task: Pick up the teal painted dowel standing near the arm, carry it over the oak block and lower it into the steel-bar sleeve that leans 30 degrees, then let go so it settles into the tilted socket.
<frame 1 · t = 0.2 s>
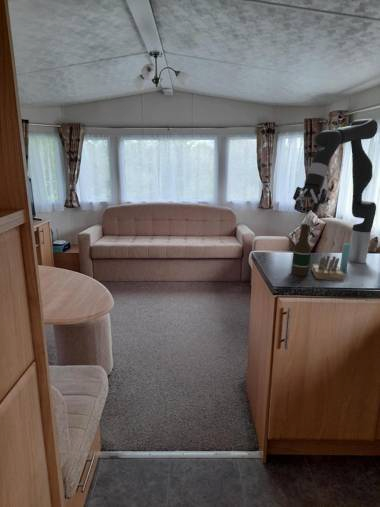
hand: (304, 211, 148), 31 cm above the countertop, tool tilted 20°, fingers open, 8 cm apart
beer bottle: (299, 274, 163), on the countertop
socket: (326, 275, 162), on the countertop
peg: (342, 271, 169), on the countertop
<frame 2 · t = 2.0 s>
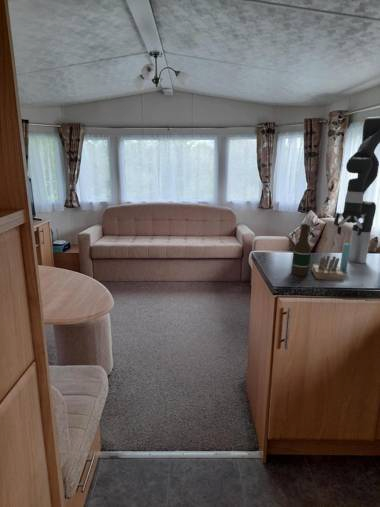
hand: (348, 235, 164), 19 cm above the countertop, tool pointing down, fingers open, 8 cm apart
nothing on the countertop moved.
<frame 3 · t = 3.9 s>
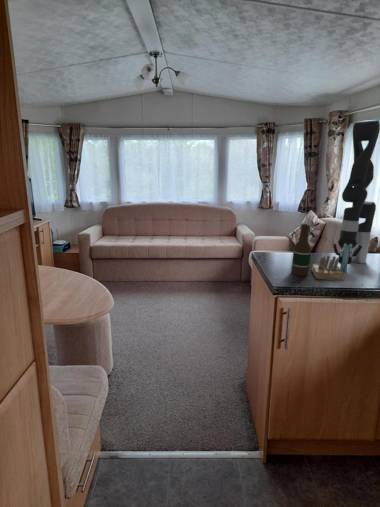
hand: (344, 263, 168), 4 cm above the countertop, tool pointing down, fingers closed on peg, 3 cm apart
peg: (342, 271, 169), on the countertop, touching gripper
everything else where it was.
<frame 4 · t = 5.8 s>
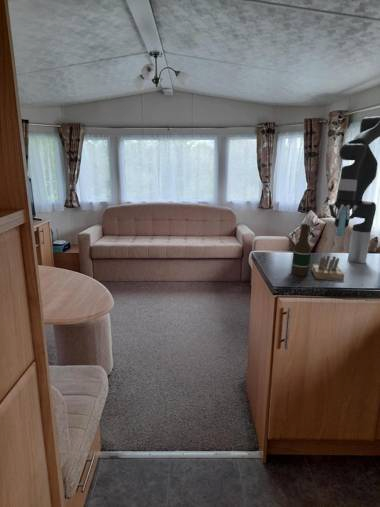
hand: (340, 226, 158), 23 cm above the countertop, tool pointing down, fingers closed on peg, 3 cm apart
peg: (339, 235, 159), point 19 cm above the countertop, touching gripper
everything else where it was.
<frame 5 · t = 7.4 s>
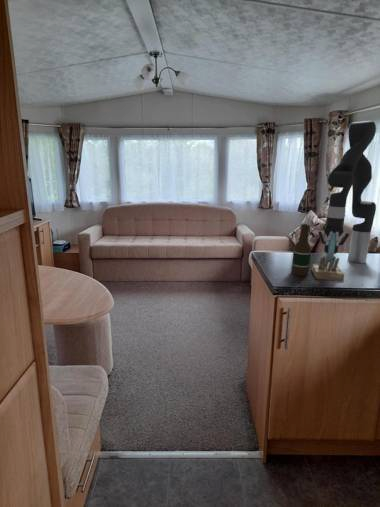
hand: (330, 252, 158), 11 cm above the countertop, tool pointing down, fingers closed on peg, 3 cm apart
peg: (329, 261, 159), point 7 cm above the countertop, touching gripper
everything else where it was.
when the fingers open (10 cm above the countertop, at t = 7.9 s): peg drops 2 cm and tips over, resting on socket.
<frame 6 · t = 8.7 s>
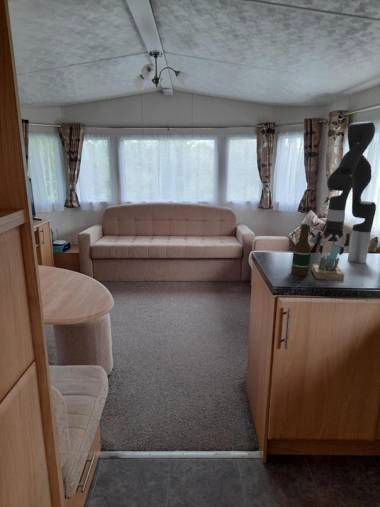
hand: (330, 253, 159), 11 cm above the countertop, tool pointing down, fingers open, 8 cm apart
peg: (328, 267, 161), point 4 cm above the countertop, tilted 34°, touching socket
everything else where it was.
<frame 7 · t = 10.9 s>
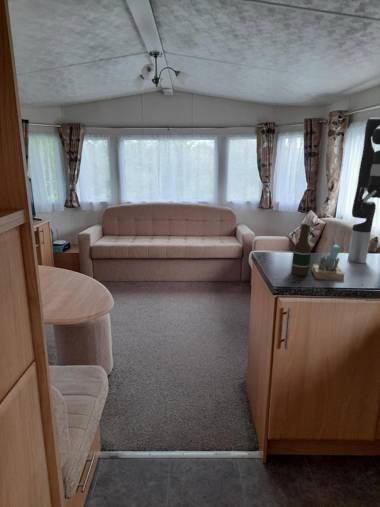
hand: (373, 211, 156), 31 cm above the countertop, tool pointing down, fingers open, 8 cm apart
nothing on the countertop moved.
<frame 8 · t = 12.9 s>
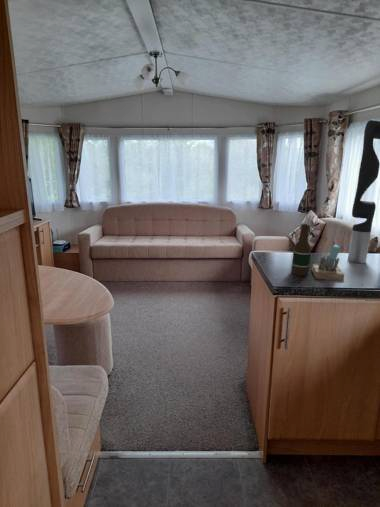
nothing on the countertop moved.
at the end: peg inside the target area on the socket (1.8 cm from its centre), point 3.9 cm above the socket's base; peg tilted 34°; the gripper is holding nothing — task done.
